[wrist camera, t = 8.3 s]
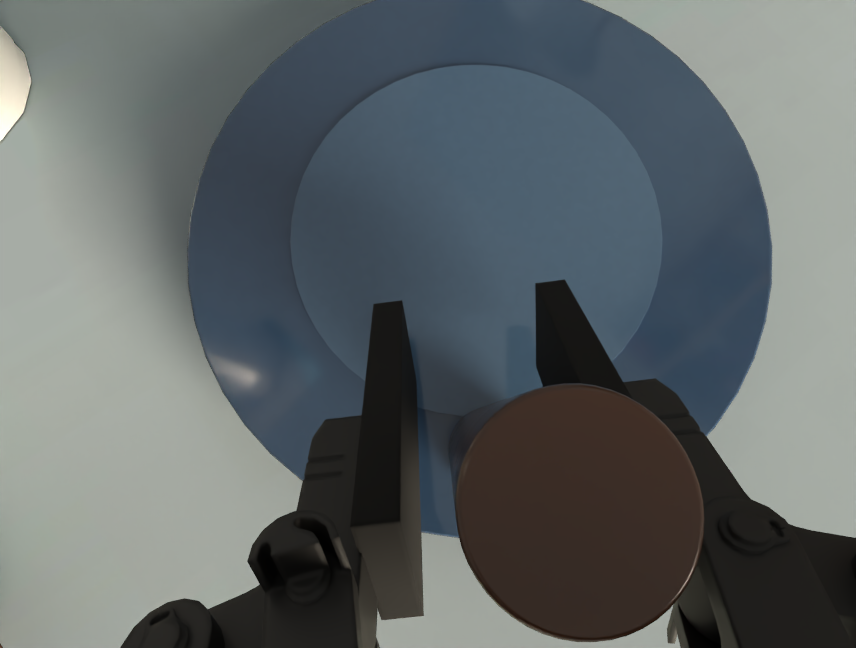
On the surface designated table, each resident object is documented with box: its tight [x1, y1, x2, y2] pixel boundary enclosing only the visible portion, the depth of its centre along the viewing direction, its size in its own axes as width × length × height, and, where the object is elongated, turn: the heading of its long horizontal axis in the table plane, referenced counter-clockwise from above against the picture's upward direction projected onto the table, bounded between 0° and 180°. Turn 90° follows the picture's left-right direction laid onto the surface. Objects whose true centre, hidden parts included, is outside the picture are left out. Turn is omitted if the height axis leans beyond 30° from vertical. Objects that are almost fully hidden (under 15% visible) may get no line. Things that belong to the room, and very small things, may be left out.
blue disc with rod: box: [187, 0, 772, 642], centre depth 12 cm, size 19×19×11 cm
